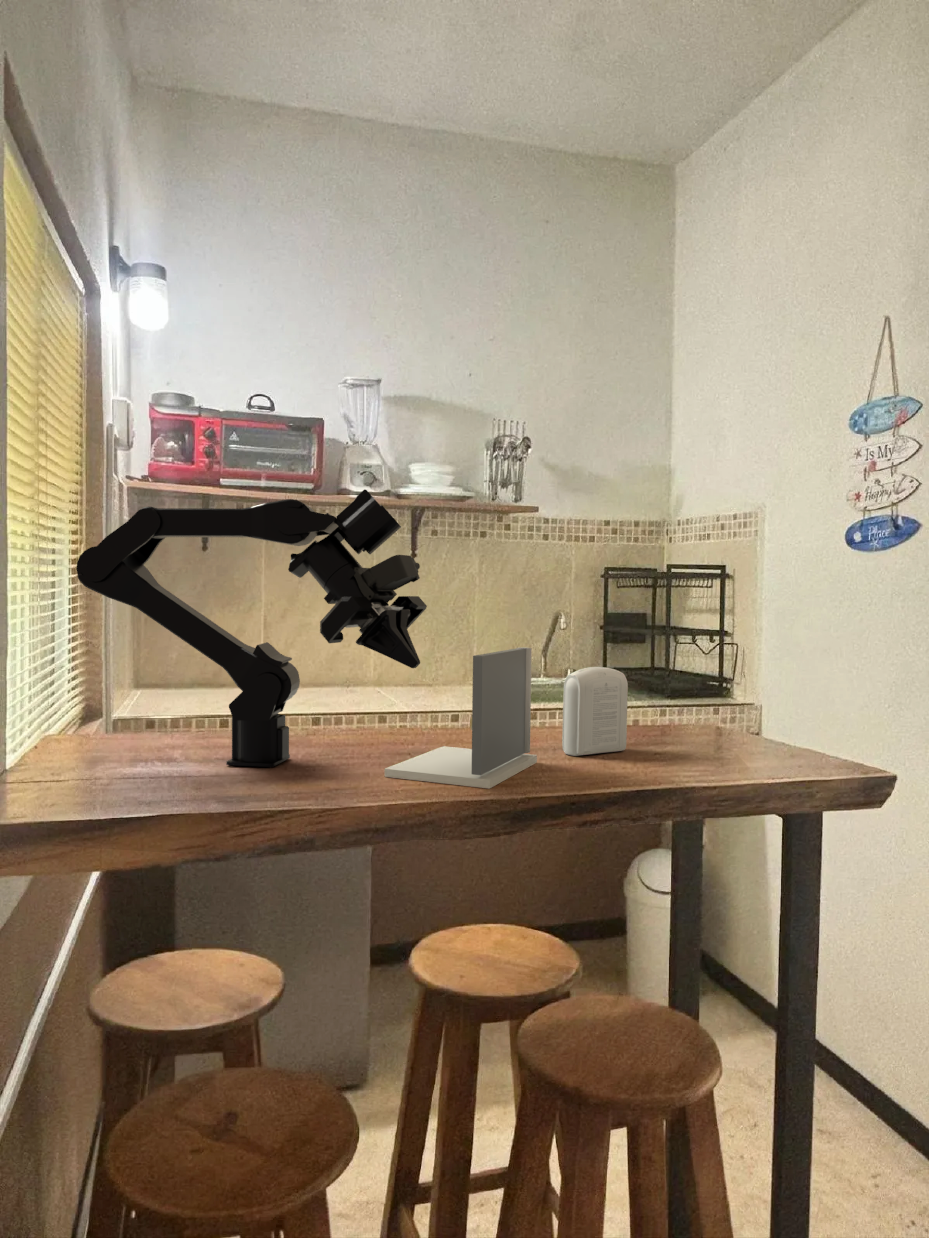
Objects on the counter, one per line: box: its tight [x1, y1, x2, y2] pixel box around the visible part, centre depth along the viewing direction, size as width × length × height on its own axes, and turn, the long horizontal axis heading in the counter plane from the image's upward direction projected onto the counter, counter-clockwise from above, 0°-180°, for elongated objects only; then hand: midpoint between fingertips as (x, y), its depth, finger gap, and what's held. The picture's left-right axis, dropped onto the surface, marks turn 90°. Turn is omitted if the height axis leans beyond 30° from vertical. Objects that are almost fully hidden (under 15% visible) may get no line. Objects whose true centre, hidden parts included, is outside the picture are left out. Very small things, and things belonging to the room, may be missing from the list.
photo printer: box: [561, 666, 629, 757], centre depth 123 cm, size 10×4×12 cm, turn 123°
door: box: [469, 647, 532, 775], centre depth 108 cm, size 3×17×14 cm, turn 156°
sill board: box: [384, 745, 538, 789], centre depth 110 cm, size 14×17×1 cm
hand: (416, 665), depth 108 cm, fingers closed
